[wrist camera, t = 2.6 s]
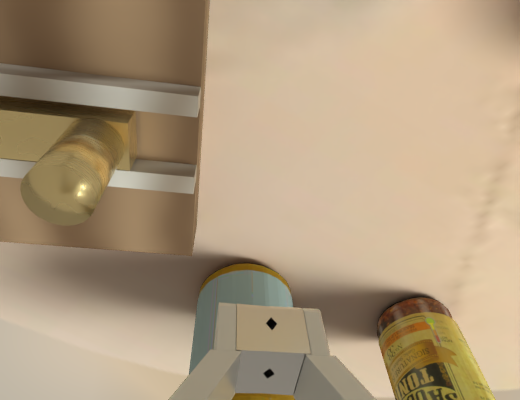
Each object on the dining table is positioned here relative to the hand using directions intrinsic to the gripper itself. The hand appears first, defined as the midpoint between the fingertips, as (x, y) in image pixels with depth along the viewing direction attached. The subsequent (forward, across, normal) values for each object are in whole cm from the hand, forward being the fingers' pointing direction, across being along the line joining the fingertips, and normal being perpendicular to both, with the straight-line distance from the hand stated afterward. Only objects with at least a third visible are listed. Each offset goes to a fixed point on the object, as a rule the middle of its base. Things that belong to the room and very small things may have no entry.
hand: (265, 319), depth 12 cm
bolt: (+11, +10, -1) cm, 15 cm away
